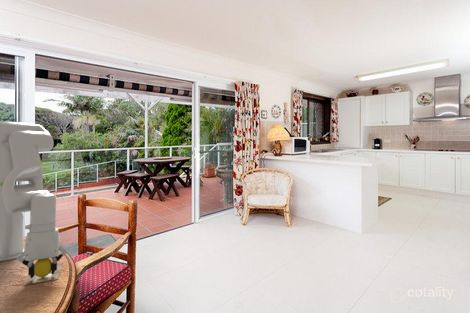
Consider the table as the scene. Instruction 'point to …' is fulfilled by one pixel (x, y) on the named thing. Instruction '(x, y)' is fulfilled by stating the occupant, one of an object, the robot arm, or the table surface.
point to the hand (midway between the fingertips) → (43, 273)
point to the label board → (47, 278)
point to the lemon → (42, 267)
